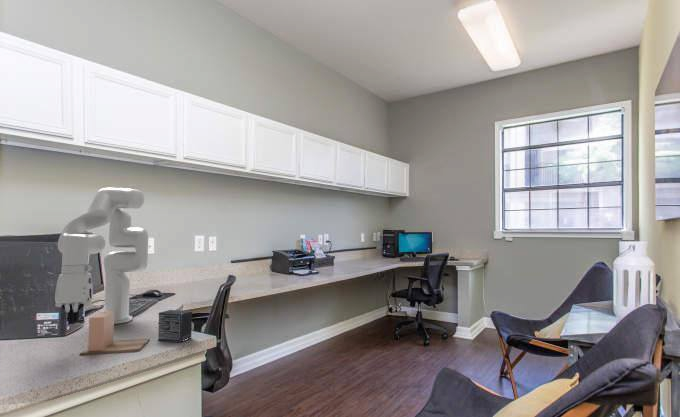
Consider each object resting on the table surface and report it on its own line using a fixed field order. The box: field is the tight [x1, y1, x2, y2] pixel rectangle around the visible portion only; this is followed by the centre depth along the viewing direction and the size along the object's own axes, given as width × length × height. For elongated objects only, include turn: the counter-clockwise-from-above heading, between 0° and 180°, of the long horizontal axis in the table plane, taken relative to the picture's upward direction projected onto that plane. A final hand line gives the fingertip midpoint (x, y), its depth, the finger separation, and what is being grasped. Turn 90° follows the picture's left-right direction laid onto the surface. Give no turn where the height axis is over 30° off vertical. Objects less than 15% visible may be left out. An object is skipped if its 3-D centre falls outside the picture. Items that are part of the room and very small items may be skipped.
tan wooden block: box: [87, 311, 115, 351], centre depth 128 cm, size 9×5×11 cm, turn 13°
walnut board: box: [79, 338, 150, 356], centre depth 129 cm, size 12×18×1 cm, turn 103°
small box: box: [157, 309, 193, 343], centre depth 139 cm, size 11×6×10 cm, turn 74°
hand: (72, 323), depth 126 cm, fingers closed
